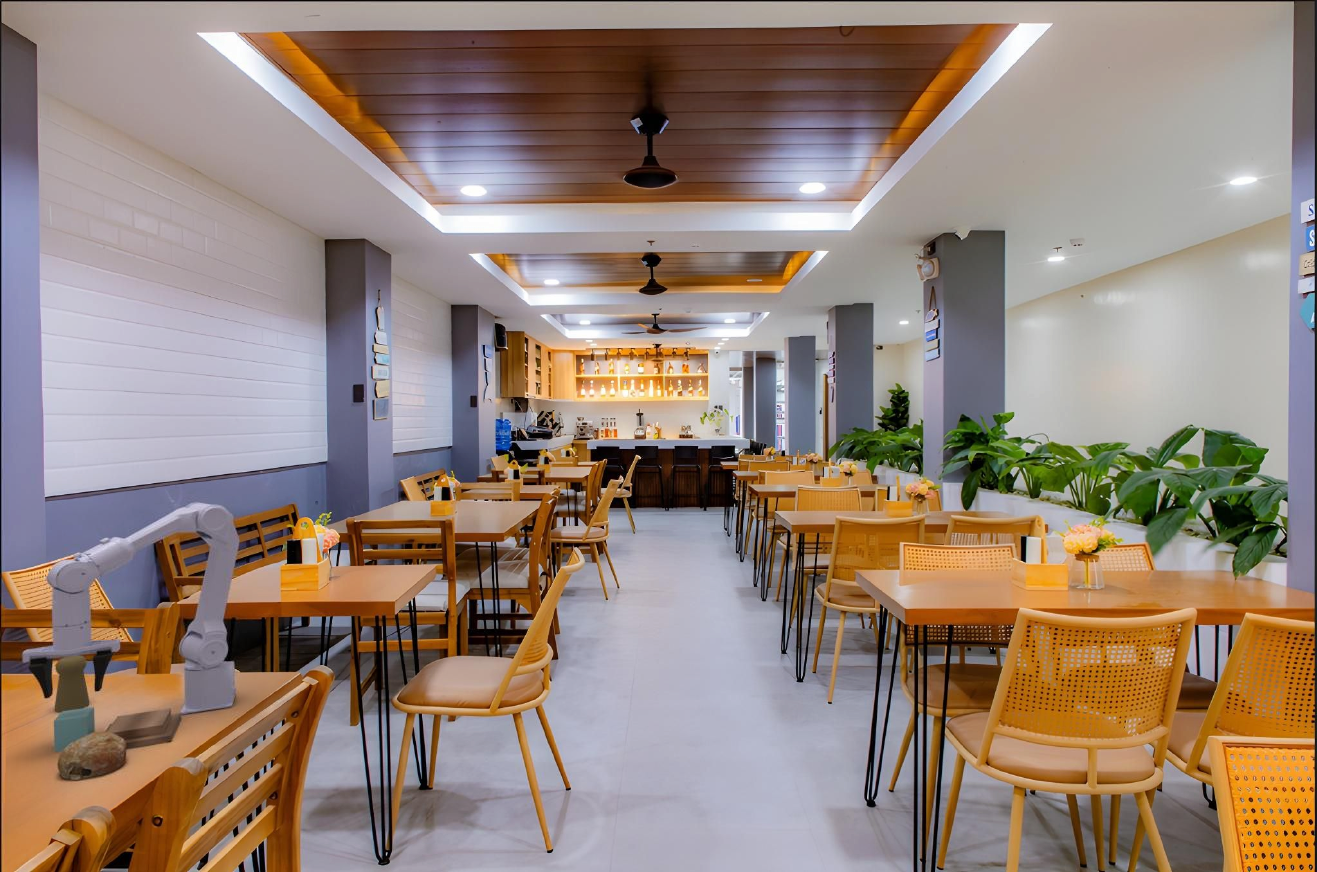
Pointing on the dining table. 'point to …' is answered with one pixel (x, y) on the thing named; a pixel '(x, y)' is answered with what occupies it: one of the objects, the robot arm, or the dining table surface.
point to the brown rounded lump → (92, 756)
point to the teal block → (72, 726)
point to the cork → (71, 684)
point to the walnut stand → (146, 727)
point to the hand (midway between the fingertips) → (73, 693)
